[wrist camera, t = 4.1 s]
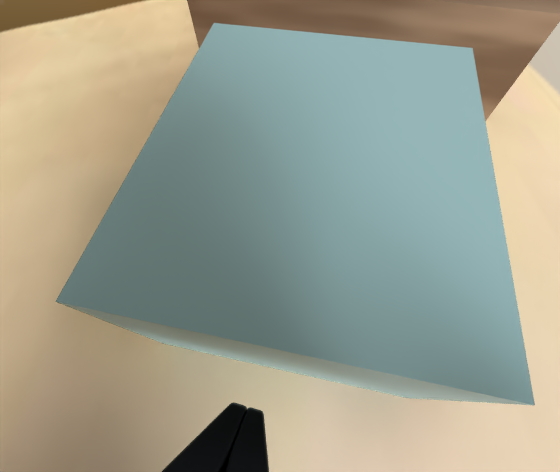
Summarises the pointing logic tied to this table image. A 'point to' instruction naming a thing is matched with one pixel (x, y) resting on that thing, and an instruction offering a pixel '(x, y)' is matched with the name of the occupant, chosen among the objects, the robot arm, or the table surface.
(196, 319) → the block
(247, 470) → the robot arm
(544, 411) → the table surface
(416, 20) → the board
